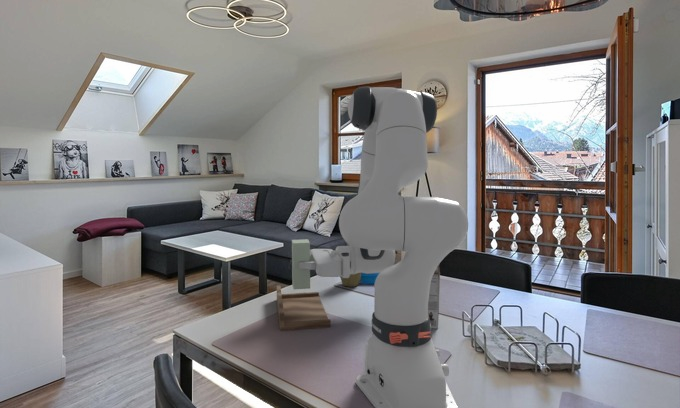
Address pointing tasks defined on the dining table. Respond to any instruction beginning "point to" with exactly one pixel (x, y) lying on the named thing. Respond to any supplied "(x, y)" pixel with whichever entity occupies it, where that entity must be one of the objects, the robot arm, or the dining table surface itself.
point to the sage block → (298, 255)
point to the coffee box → (434, 299)
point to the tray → (300, 311)
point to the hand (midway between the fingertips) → (297, 262)
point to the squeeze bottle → (351, 279)
